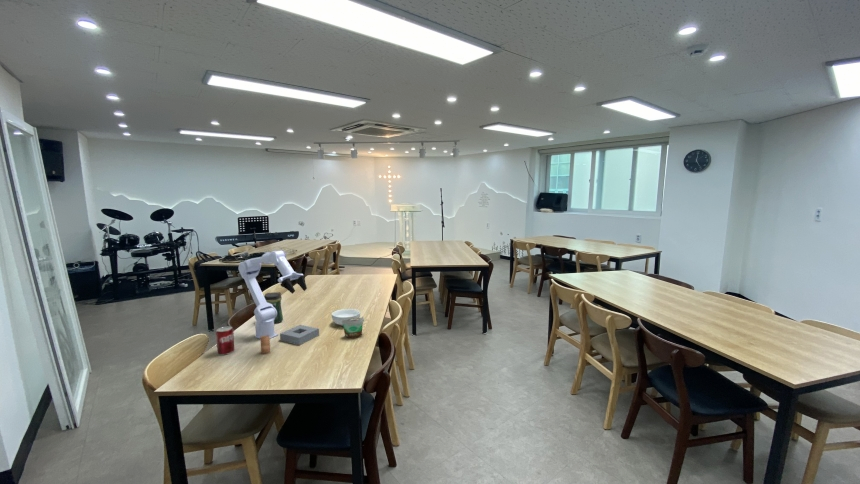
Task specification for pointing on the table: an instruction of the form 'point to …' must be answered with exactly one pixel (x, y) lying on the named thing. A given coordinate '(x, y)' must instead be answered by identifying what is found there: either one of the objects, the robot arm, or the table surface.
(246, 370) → the table surface
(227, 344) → the soda can
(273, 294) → the coffee jar
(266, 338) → the peg
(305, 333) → the socket
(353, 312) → the cereal bowl
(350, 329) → the food container
